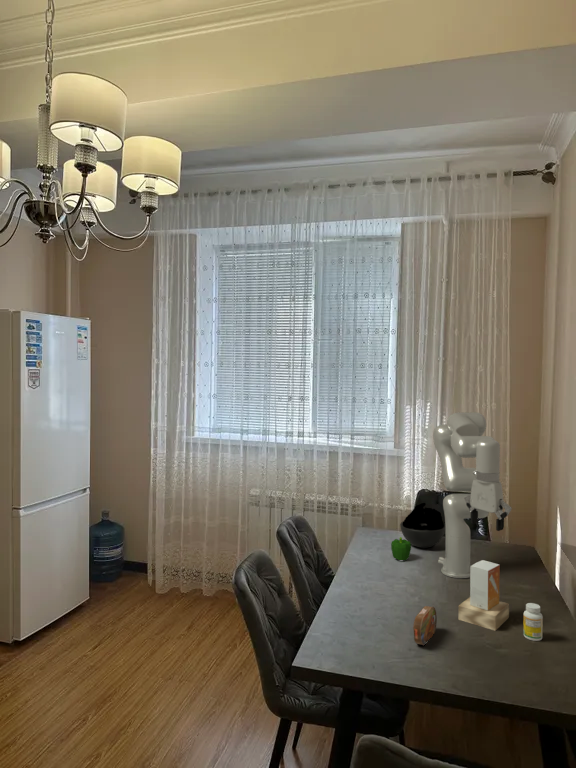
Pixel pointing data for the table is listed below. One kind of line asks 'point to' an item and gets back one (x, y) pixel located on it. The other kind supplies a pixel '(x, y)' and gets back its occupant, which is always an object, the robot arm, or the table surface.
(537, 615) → the supplement bottle
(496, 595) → the small box
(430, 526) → the coal bowl
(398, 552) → the bell pepper
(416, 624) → the tin
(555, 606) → the table surface
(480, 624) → the birch block
